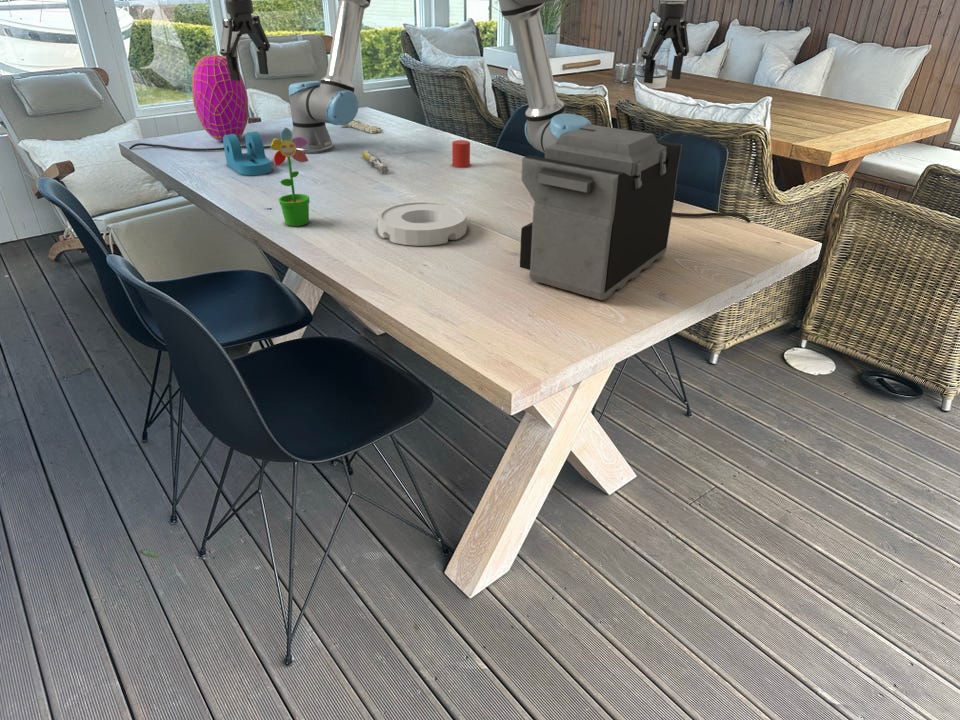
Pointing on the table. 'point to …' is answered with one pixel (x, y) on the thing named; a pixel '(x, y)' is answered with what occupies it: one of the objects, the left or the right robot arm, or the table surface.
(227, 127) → the decorative egg
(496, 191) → the table surface
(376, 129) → the decorative sign
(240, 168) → the camera mount
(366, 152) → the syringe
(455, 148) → the canister
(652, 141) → the grey cooler box
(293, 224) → the potted flower
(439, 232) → the ashtray
